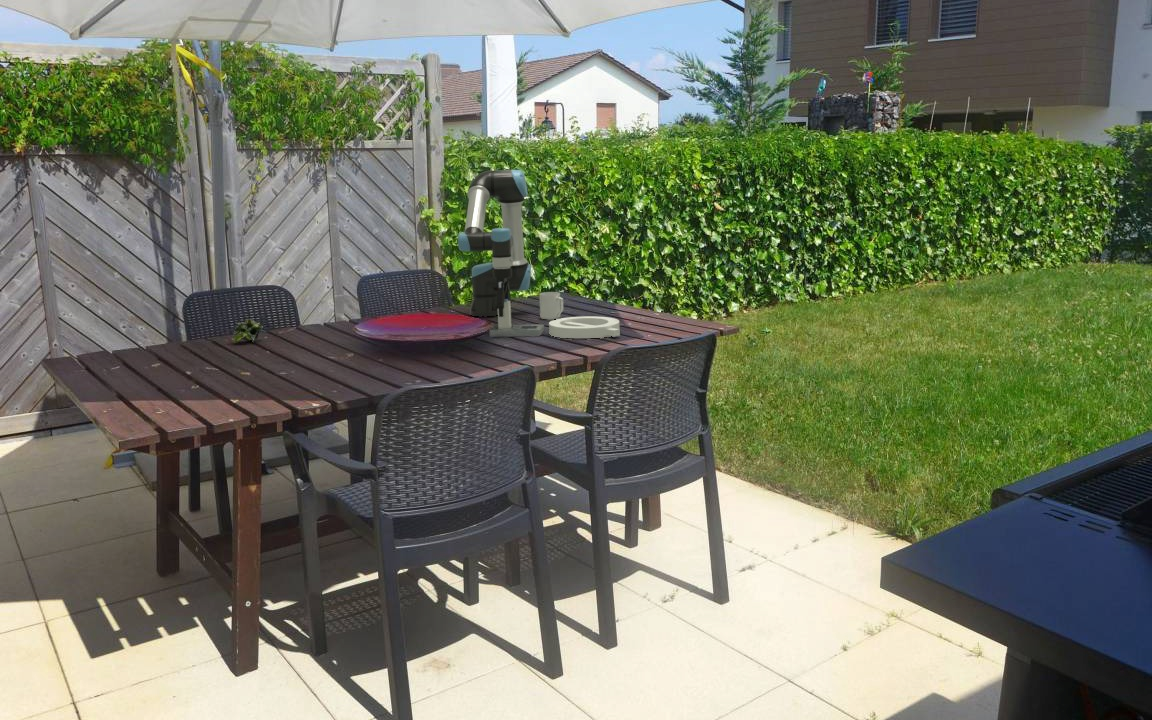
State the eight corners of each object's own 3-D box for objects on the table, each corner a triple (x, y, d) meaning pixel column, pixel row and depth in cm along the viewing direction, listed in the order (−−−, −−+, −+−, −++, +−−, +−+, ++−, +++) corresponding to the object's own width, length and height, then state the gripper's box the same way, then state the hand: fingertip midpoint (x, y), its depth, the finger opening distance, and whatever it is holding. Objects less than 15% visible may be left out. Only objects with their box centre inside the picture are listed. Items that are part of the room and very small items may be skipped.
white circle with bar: (620, 339, 359) (620, 327, 358) (547, 341, 359) (547, 329, 358) (618, 326, 386) (618, 315, 385) (551, 328, 387) (550, 317, 386)
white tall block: (500, 332, 378) (499, 298, 375) (511, 332, 378) (510, 298, 375) (498, 334, 374) (497, 300, 371) (509, 334, 373) (508, 300, 371)
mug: (536, 319, 409) (535, 293, 407) (550, 316, 416) (549, 291, 413) (556, 321, 401) (555, 295, 399) (570, 318, 408) (569, 293, 405)
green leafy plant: (252, 354, 377) (266, 328, 379) (257, 353, 367) (272, 326, 370) (226, 341, 372) (240, 314, 375) (230, 339, 362) (245, 312, 365)
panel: (495, 330, 383) (495, 324, 382) (544, 330, 381) (544, 324, 380) (489, 336, 370) (489, 330, 370) (539, 336, 368) (539, 330, 367)
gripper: (506, 270, 358) (508, 327, 363) (516, 264, 382) (518, 317, 386) (487, 271, 359) (489, 327, 364) (498, 264, 382) (500, 317, 387)
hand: (504, 322), depth 375 cm, fingers open, 11 cm apart
